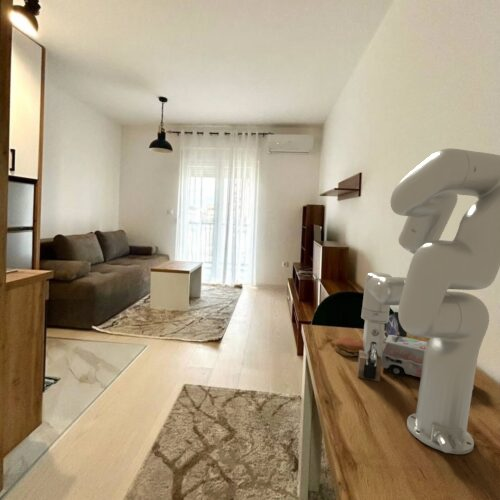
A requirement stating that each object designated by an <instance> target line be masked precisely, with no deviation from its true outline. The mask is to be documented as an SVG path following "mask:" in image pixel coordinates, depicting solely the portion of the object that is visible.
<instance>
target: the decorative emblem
mask: <svg viewBox="0 0 500 500" xmlns="http://www.w3.org/2000/svg"><path fill="white" fill-rule="evenodd" d="M384 329H385V332H384V343H383V344H385V342H386V340H387V337H388V335H395V336H400V337H406V338H407V336H408V335H407V334H408V333H407V332H406V331H405V330H404V329H403V328H402V326H401V324H400V322H399V317H398V311H394V312H393V313H391V314H390V313H389V319H388V323H385V327H384Z"/></svg>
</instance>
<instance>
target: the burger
mask: <svg viewBox="0 0 500 500" xmlns="http://www.w3.org/2000/svg"><path fill="white" fill-rule="evenodd" d="M334 350H335V351H336V352H337V353H338V354H339V355H342V356H345V357H359V350H361V351H364V347H363V341H361V340H360V339H359V338H358V339H357V338H353V337H340V338H338V339H337V340H336V342H335V346H334Z"/></svg>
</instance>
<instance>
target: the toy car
mask: <svg viewBox="0 0 500 500" xmlns="http://www.w3.org/2000/svg"><path fill="white" fill-rule="evenodd" d="M427 343H428V341H424V340H421V339H420V340H419V339H414V338H410V337H407V336H406V337H400V336H395V335H388V337H387V340H386V342H385V343H384V344H383V356H382V357H381V359H382V367H381V368H385V369H388V368H389V369H388V370H389V373H390V374H392V375H393V376H398V377H401V378H402V377H404V375H405V374H406V375H411V376H414V377H418V378H421V372H422V364H423V358H424V352H425V348H426V345H427ZM474 379H475V376H474ZM474 388H475V385H474V383H473V389H472V391H473V390H474Z"/></svg>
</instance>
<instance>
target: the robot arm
mask: <svg viewBox="0 0 500 500" xmlns="http://www.w3.org/2000/svg"><path fill="white" fill-rule="evenodd" d="M458 195H460V196H468V197H469V196H471V197H475V198H477V200H476V201H475V202H474V203H473V204H472V205H471V206H470V207H469V208H468V209H467V210H466V211H465V213H464V214H463V216H462V218H461V220H460V222H459V225H458V229H457V232H456V234H455V236H454V238H453V240H445V239H444V240H443V239H442V240H441V237H442V234H443V232H444V230H445V229H446V226H447V224H448V222H449V221H450V218H451V216H452V214H453V212H454V210H455V208H456V206H457V203H458ZM389 204H390V208H391V210H392V211H393V213H395V214H396V215H398V216H403V217H407V218H406V220H405V222H404V225H403V227H402V229H401V232H400V234H399V237H398V244H399V245H400V246H401V247H402V248H403V250H406V251H408V252H409V253H411V254H413V256H412V258H411V261H410V264H409V266H408V269H407V270H408V271H407V275H406V276H405V277H400V276H398V277H397V276H395V277H394V276H392V275H390V274H388V273H383V272H373V271H371V272H368V273H367V274H366V276H365V281H364V288H363V299H362V307H361V315H360V317H361V319H363V321H364V325H363V337H362V339H363V340H362V343H363V347H364V353H365V354H366V364H365V365H364V374H363V377H364V378H363V379H365V378H368V379H367V380H370V379H373V380H372V381H375V380H374V379H375V375H376V367H377V366H376V361H377V354H378V356H380V357H382V356H383V348H384V344H385V343H384V333H385V326H386V323H388V319H389V315H390V310H391V306H398V308H397V309H398V310H397V312H398V317H399V322H400V324H401V326H402V328H403V329H404V330H405V331H406V332H407V334H408V335H410V336H412V337H415V338H421V339H422V338H423V339H425V338H426V339H429V340H428V341H427V342H428V343H427V345H426V348H425V352H424V358H423V364H422V372H421V377H420V381H419V388H418V396H417V402H416V403H417V404H416V410H415V412H414V413H412V414H411V413H410V415H408V417H407V418H406V427H407V429H408V430H409V432H410V434H412V436H414V438H417V440H419V441H420V442H421V443H423V444H425V445H427V446H429V447H430V448H433V449H435V450H438V451H440V452H443V453H446V454H453V455H465V454H469V453H471V452H472V451H473V450H474V446H475V440H474V439H473V437H472V435H471V434H470V433H469V432H468V431H467V429H468V423H469V422H468V421H469V417H470V416H469V415H470V409H471V408H470V407H471V402H472V396H473V390H474V389H473V384H474V381H475V378H474V377H475V376H476V370H477V363H478V359H479V358H478V357H479V353H480V349H481V346H482V343H483V341H484V338H485V336H486V333H487V332H488V328H489V322H490V315H489V314H490V313H489V311H488V308H487V305H486V304H485V303H484V302H483V301H482V300H481V299H480V298H479V297H477V296H475V295H473V294H470V293H467V292H461V291H459V290H462V291H465V290H466V291H474V290H475V291H476V290H483V289H486V288H488V287H490V286H491V285H493V283H494V281H495V280H496V277H497V275H498V272H499V269H500V154H494V153H489V152H484V151H483V152H481V151H474V150H468V149H460V148H444V149H440V150H438V151H435V152H434V153H431V155H430V156H428V157H427V158H425V159H424V160H423V161H422V162H421V163H419V164H418V165H417V166H416V167H415V168H414V169H411V171H409V172H408V173H407V174H406V175H405V176H404V177H402V179H401V180H400V181H399V182H398V183H397V185H396V186H395V188H394V189H393V191H392V194H391V196H390V203H389ZM448 290H458V291H448ZM368 352H371V354H368ZM369 356H370V358H369ZM368 358H369V359H368ZM472 389H473V390H472Z"/></svg>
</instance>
